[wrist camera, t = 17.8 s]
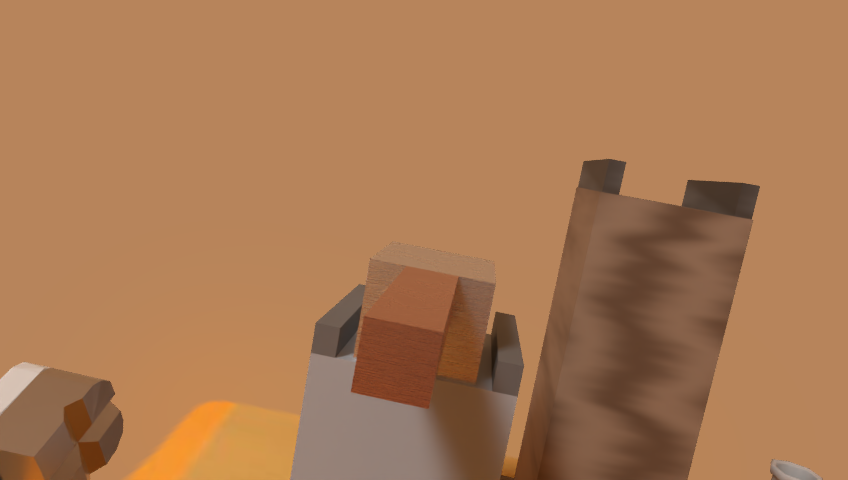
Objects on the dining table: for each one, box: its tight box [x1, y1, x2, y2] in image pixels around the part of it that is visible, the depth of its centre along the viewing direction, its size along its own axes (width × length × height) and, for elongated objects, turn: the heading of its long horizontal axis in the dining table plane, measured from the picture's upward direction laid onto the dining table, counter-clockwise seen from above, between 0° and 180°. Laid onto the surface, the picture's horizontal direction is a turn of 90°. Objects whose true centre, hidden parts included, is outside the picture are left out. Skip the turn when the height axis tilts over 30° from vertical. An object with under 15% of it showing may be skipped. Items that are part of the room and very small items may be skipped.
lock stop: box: [351, 242, 496, 409], centre depth 28 cm, size 6×17×5 cm, turn 174°
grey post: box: [290, 284, 524, 480], centre depth 35 cm, size 10×10×18 cm
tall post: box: [500, 159, 760, 480], centre depth 43 cm, size 12×12×28 cm
